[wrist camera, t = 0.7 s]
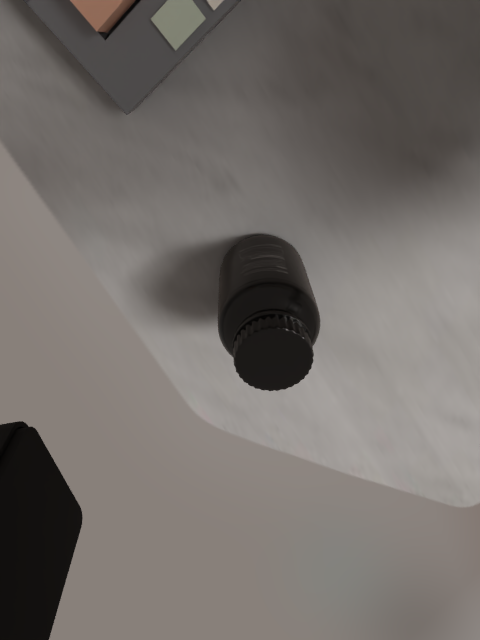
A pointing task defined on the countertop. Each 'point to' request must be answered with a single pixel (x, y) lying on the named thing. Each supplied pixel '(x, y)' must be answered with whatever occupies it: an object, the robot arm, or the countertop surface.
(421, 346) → the countertop surface
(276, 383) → the supplement bottle
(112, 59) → the keypad
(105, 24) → the key terracotta
